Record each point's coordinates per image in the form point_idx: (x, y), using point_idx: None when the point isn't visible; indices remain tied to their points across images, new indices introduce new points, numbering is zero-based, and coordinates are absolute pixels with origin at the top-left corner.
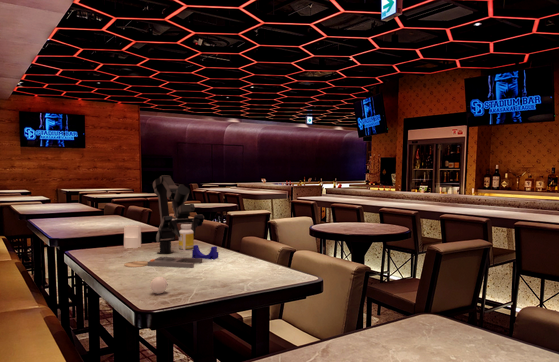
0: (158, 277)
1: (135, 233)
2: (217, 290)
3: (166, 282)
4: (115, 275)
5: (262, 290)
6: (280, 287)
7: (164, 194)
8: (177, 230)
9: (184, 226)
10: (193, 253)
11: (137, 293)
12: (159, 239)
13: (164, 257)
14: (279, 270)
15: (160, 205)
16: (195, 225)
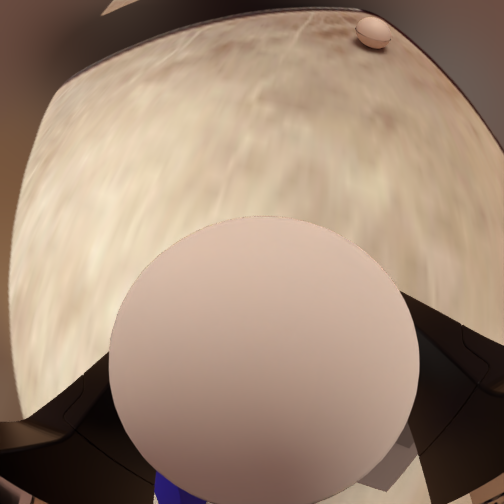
0: (376, 18)
1: None
2: (249, 32)
3: (358, 22)
4: None
5: (173, 32)
6: (138, 44)
7: None
8: (431, 318)
9: (328, 243)
10: (198, 501)
11: (413, 61)
12: None
13: (373, 471)
14: (48, 147)
15: None
16: (56, 405)
